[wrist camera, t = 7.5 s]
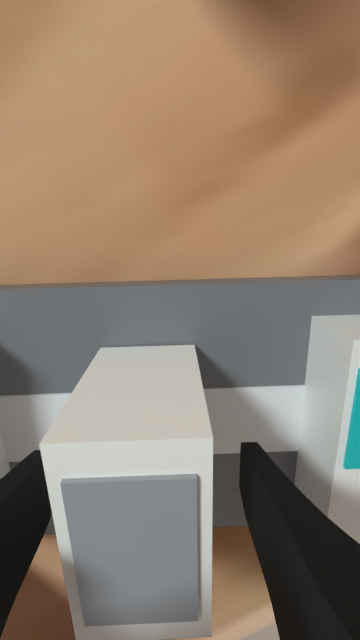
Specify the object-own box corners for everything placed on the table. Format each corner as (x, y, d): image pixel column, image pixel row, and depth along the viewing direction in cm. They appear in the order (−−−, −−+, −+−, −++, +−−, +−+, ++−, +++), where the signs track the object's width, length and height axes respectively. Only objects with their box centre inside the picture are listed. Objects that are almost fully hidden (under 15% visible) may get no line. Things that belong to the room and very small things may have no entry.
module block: (114, 480, 14) (74, 650, 9) (100, 347, 12) (36, 448, 7) (195, 477, 15) (212, 643, 9) (194, 344, 13) (213, 442, 7)
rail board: (-37, 517, 17) (-108, 612, 12) (-105, 288, 13) (-238, 313, 9) (351, 501, 17) (410, 589, 13) (391, 274, 13) (492, 292, 9)
